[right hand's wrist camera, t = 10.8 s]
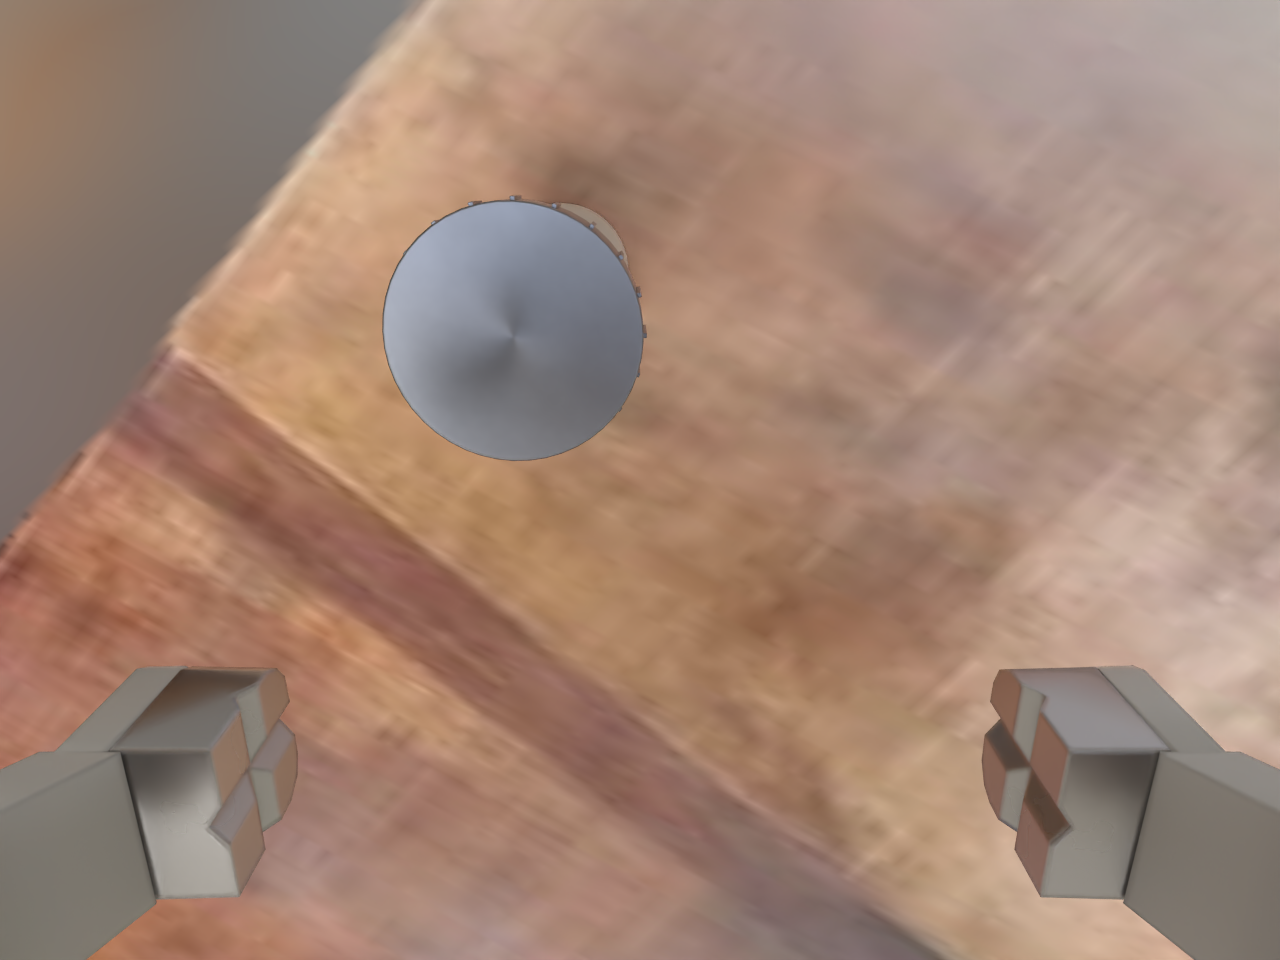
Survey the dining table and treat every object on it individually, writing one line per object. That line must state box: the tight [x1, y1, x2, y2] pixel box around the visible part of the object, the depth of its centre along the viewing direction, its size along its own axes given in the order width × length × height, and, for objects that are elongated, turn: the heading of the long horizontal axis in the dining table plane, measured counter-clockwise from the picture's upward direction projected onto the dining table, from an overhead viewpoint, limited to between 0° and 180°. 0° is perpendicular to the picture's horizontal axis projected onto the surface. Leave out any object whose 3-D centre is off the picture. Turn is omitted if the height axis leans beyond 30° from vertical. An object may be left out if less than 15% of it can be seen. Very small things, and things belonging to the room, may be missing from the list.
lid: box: [382, 195, 647, 461], centre depth 21 cm, size 6×6×2 cm
